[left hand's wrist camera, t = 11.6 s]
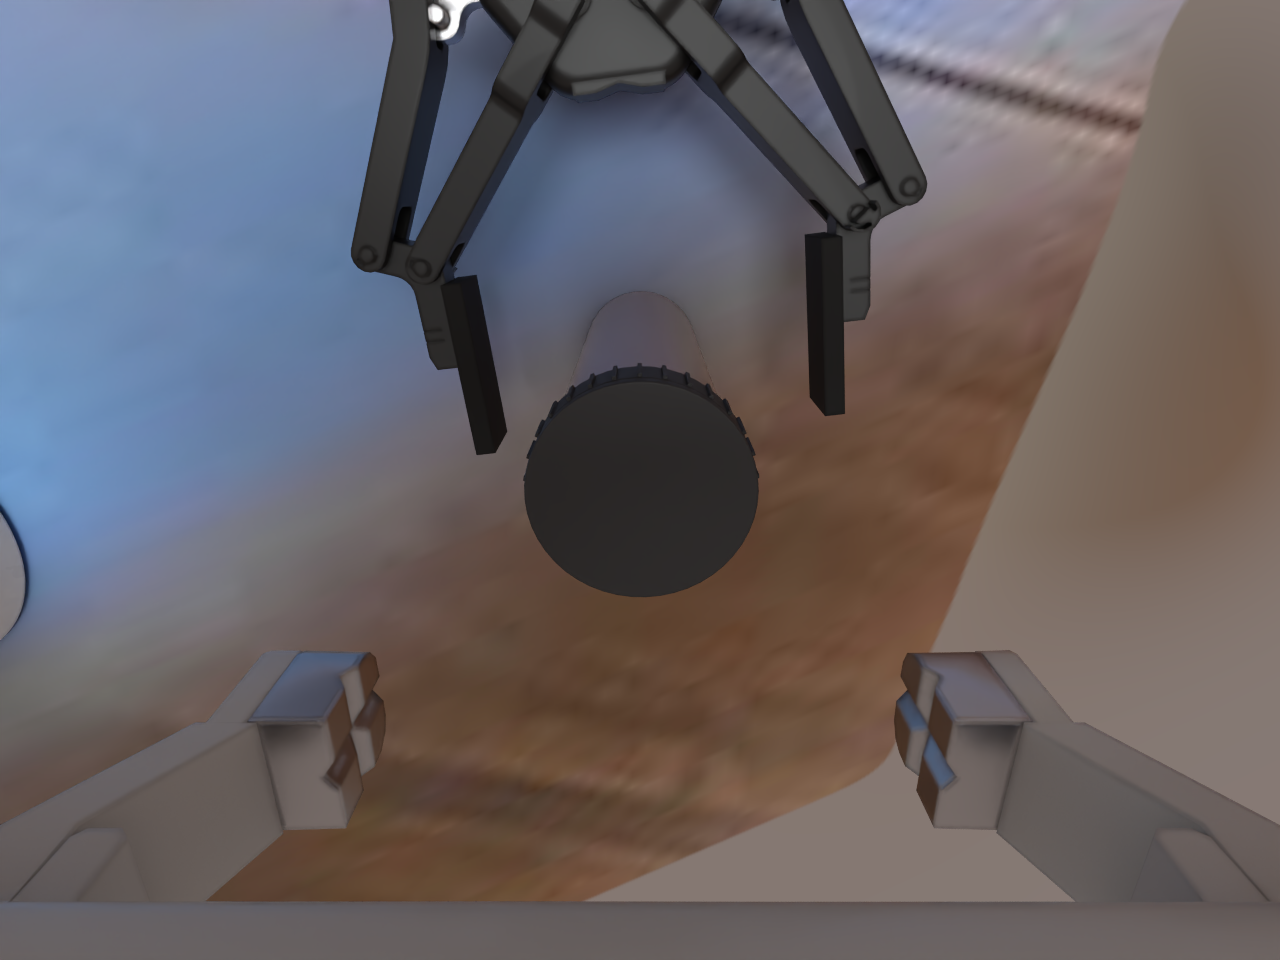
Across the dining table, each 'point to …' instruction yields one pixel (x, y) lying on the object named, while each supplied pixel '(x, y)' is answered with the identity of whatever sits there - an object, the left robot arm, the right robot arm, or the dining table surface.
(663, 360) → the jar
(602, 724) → the dining table surface
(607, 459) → the lid
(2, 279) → the dining table surface
